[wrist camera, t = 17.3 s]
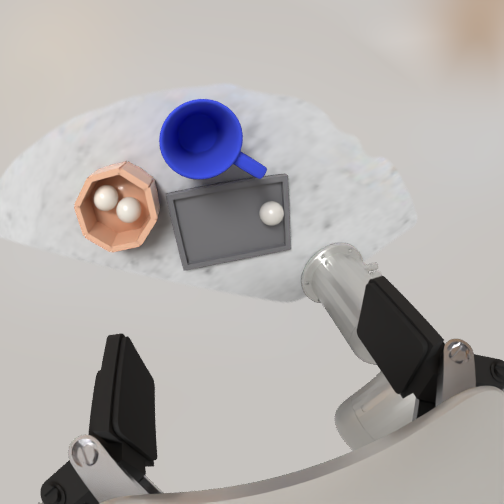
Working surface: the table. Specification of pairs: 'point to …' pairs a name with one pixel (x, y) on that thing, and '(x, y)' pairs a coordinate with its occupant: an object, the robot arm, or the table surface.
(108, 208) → the white ball
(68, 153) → the table surface
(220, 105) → the mug
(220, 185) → the tray
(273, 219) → the white ball
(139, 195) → the bowl
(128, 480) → the robot arm
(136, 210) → the white ball
